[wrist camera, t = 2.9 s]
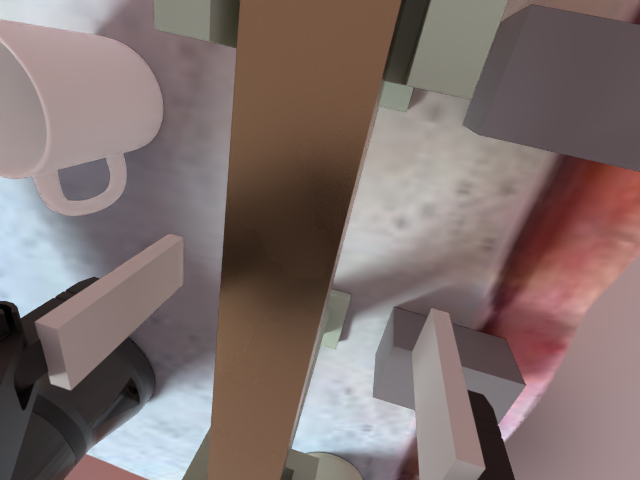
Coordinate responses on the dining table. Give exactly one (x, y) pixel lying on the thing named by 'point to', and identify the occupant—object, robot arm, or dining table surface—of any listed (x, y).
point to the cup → (72, 109)
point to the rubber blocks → (539, 132)
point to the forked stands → (403, 75)
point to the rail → (288, 209)
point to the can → (334, 468)
